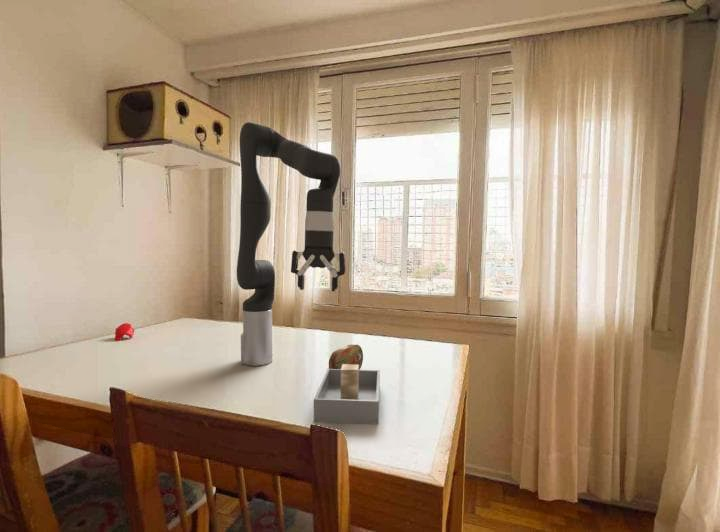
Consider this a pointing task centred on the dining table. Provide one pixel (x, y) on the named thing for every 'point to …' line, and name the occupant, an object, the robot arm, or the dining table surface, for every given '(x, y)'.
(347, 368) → the wooden block
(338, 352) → the tin
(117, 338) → the cap
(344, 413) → the bin
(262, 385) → the dining table surface
